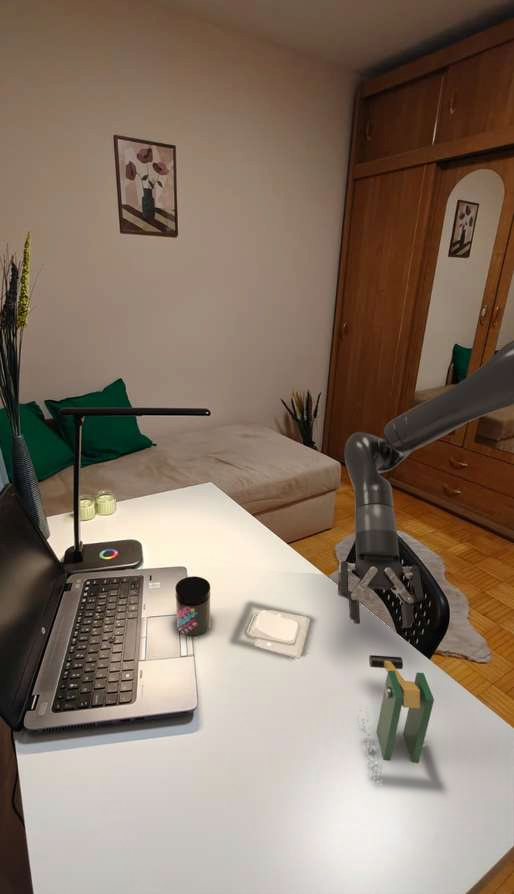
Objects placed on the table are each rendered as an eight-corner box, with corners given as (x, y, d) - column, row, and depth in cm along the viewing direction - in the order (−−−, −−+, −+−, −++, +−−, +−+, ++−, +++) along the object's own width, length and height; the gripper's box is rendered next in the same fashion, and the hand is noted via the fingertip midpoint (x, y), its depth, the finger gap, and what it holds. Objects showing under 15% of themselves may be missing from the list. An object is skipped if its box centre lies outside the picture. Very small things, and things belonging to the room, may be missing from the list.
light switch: (250, 596, 93) (310, 607, 89) (250, 612, 94) (310, 624, 90) (233, 632, 83) (300, 646, 79) (234, 649, 85) (300, 664, 81)
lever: (368, 666, 74) (369, 651, 74) (399, 668, 73) (399, 653, 73) (392, 706, 60) (393, 688, 60) (430, 709, 60) (430, 691, 60)
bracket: (361, 719, 71) (372, 654, 66) (412, 723, 70) (427, 657, 65) (375, 786, 62) (390, 715, 57) (434, 791, 61) (454, 720, 56)
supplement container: (175, 620, 91) (173, 578, 87) (207, 615, 92) (207, 574, 89) (178, 645, 85) (177, 601, 81) (213, 639, 86) (213, 596, 82)
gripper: (340, 525, 79) (344, 621, 73) (421, 530, 78) (432, 627, 72) (333, 535, 86) (336, 623, 80) (408, 539, 85) (416, 629, 79)
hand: (381, 625), depth 76 cm, fingers open, 8 cm apart
